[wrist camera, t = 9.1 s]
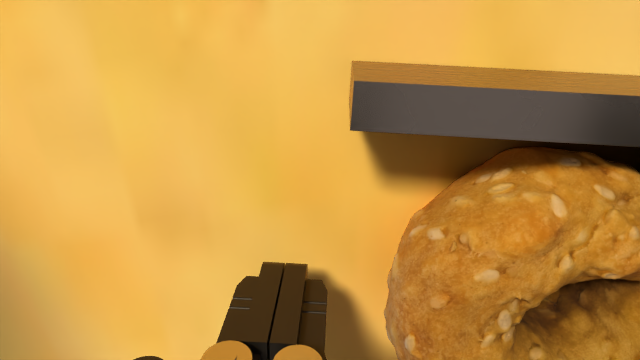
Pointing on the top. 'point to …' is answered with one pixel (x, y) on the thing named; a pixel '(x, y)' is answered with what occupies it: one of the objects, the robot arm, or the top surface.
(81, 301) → the top surface
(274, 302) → the robot arm
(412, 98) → the metal dock
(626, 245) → the bagel
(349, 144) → the top surface
